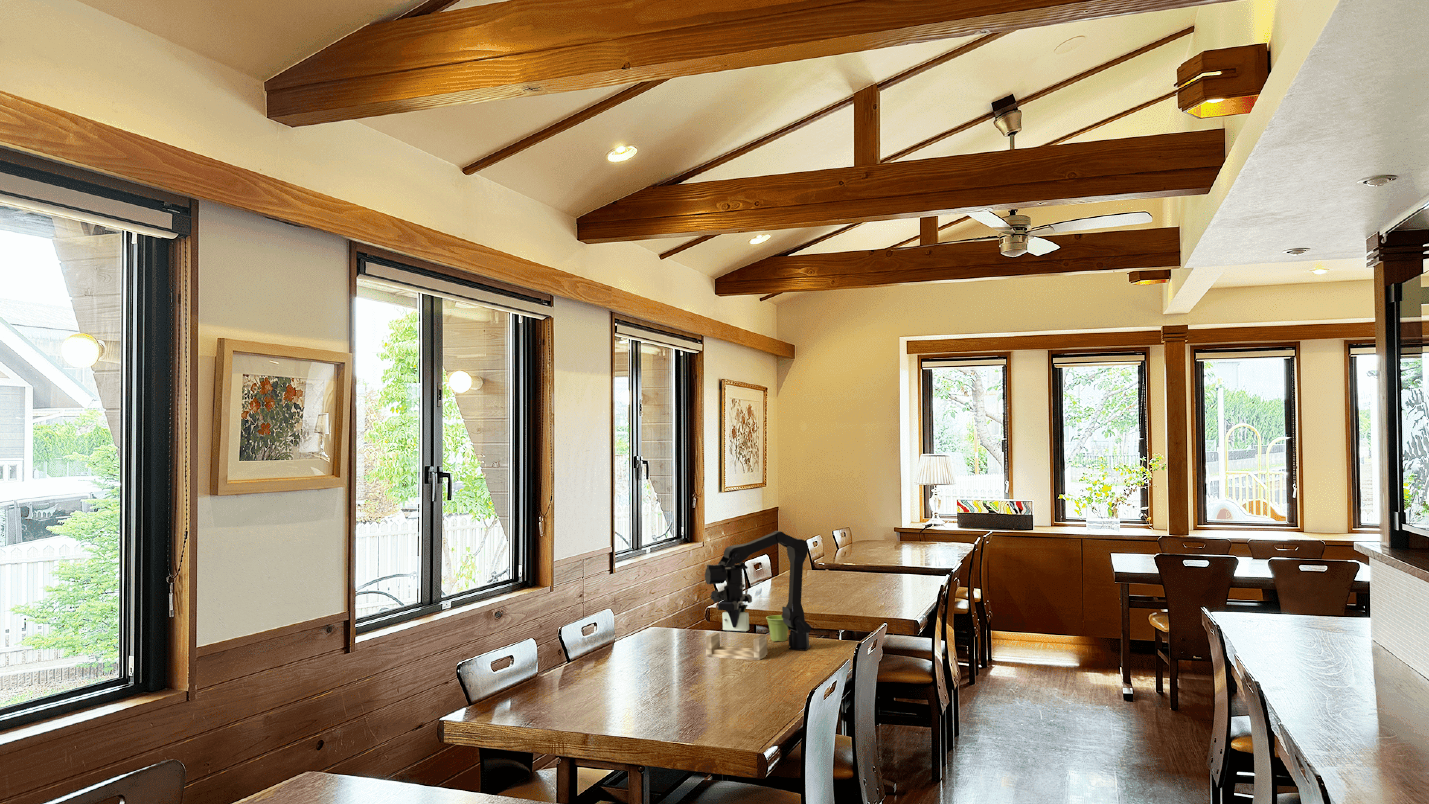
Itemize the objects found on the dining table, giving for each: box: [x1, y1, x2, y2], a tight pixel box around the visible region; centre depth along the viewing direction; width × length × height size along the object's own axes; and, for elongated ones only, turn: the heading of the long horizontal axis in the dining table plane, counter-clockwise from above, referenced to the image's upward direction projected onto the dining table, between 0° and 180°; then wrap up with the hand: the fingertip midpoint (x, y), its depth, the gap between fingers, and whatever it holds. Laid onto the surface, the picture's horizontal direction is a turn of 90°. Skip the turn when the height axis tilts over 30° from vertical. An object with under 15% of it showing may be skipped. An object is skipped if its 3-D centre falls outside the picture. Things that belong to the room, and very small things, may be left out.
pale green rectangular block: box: [721, 611, 750, 632], centre depth 319 cm, size 9×3×6 cm, turn 67°
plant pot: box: [765, 614, 789, 642], centre depth 343 cm, size 9×9×9 cm
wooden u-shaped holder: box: [705, 631, 768, 661], centre depth 319 cm, size 20×8×7 cm, turn 67°
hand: (736, 626), depth 319 cm, fingers closed on pale green rectangular block, 2 cm apart
